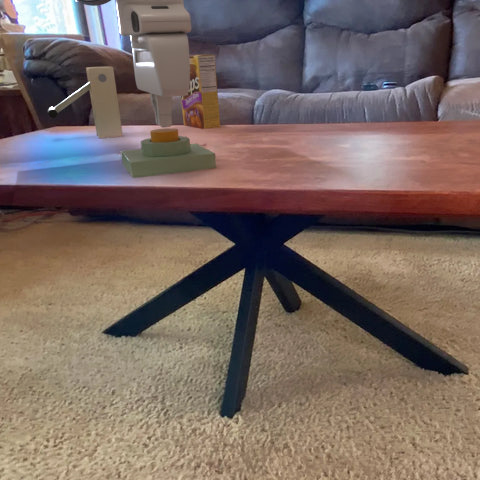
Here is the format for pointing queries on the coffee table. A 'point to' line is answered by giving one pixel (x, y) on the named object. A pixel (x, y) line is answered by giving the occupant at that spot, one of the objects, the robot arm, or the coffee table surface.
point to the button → (164, 135)
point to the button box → (167, 158)
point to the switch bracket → (104, 101)
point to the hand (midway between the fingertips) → (164, 126)
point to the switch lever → (68, 101)
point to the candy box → (201, 94)
